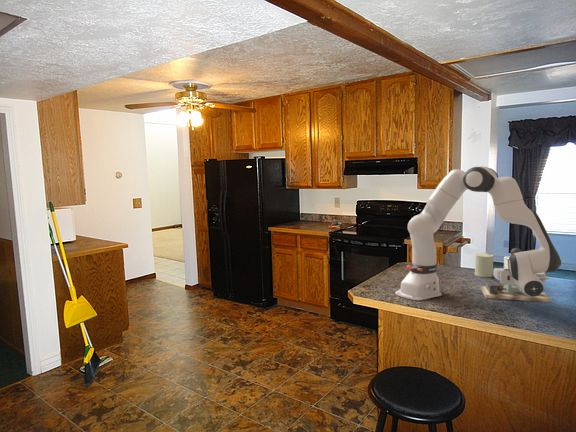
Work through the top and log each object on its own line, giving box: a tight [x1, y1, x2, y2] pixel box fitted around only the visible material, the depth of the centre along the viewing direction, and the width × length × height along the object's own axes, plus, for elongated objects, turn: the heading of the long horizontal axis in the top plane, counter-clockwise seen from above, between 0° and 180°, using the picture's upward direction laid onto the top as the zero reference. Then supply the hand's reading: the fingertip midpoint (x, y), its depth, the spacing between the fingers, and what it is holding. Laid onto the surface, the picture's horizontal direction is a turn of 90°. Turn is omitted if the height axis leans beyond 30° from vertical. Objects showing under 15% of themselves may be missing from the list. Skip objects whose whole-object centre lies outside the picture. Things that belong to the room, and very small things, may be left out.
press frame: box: [480, 279, 551, 303], centre depth 185 cm, size 26×14×6 cm, turn 73°
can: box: [474, 252, 494, 278], centre depth 220 cm, size 9×9×12 cm
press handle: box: [503, 247, 522, 292], centre depth 184 cm, size 6×8×20 cm
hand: (514, 270), depth 185 cm, fingers closed on press handle, 3 cm apart
